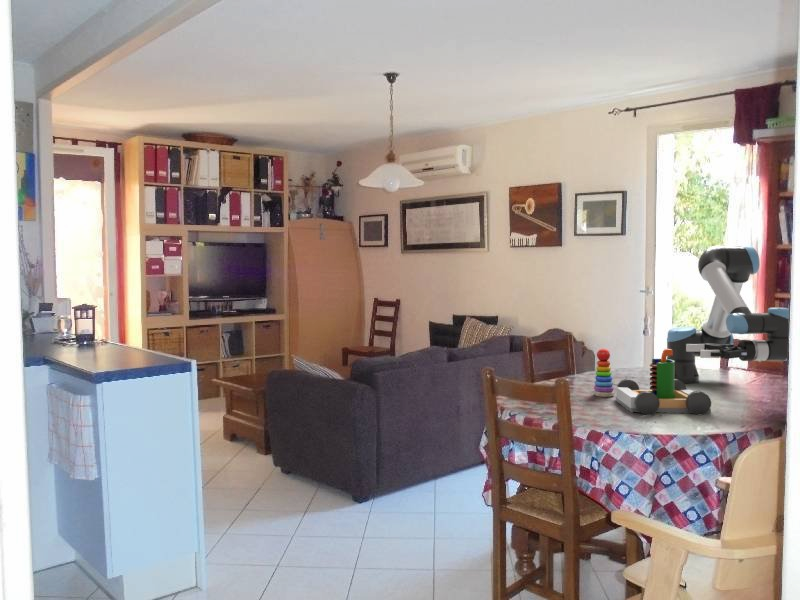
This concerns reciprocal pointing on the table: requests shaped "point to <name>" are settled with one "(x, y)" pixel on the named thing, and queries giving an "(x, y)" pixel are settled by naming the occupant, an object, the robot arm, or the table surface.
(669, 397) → the motor
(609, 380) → the stacking toy
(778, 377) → the table surface
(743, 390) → the table surface
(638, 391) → the chassis
